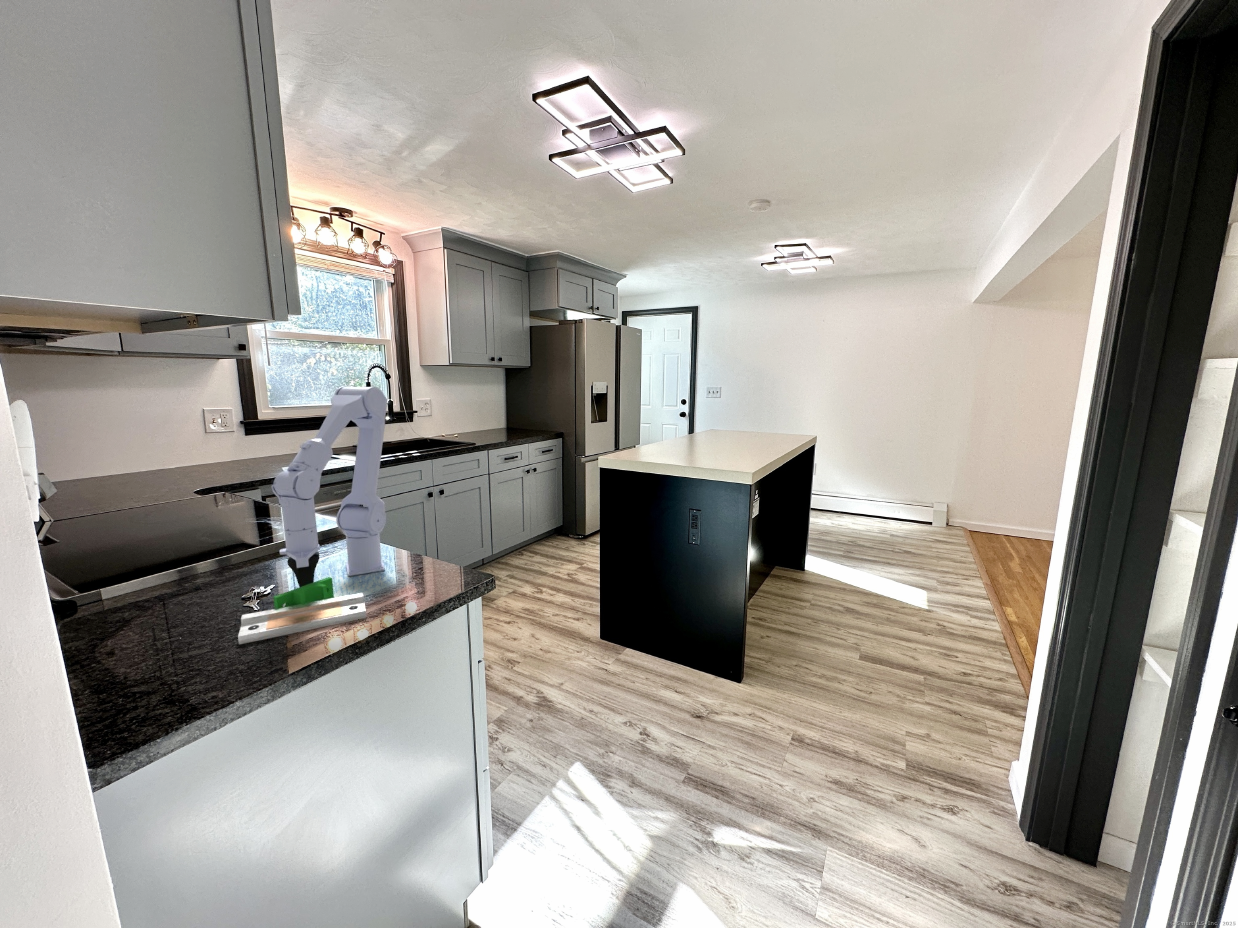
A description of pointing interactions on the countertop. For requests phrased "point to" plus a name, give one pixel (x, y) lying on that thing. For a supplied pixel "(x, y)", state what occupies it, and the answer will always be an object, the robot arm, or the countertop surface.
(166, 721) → the countertop surface
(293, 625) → the rail
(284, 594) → the green angular block
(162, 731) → the countertop surface
